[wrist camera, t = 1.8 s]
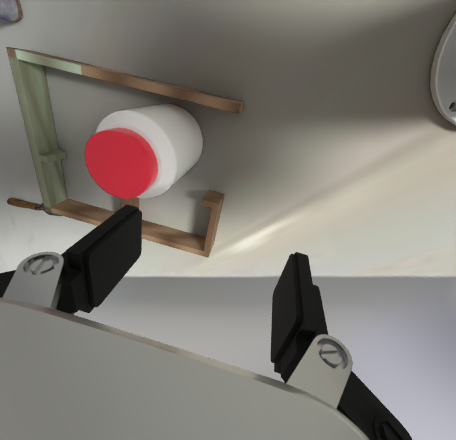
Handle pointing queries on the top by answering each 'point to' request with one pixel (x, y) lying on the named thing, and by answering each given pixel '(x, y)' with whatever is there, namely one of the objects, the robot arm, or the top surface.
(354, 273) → the top surface
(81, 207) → the wooden frame
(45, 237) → the top surface
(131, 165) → the pill bottle
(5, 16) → the flask
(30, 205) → the can opener
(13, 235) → the top surface
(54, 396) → the robot arm
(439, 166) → the top surface
